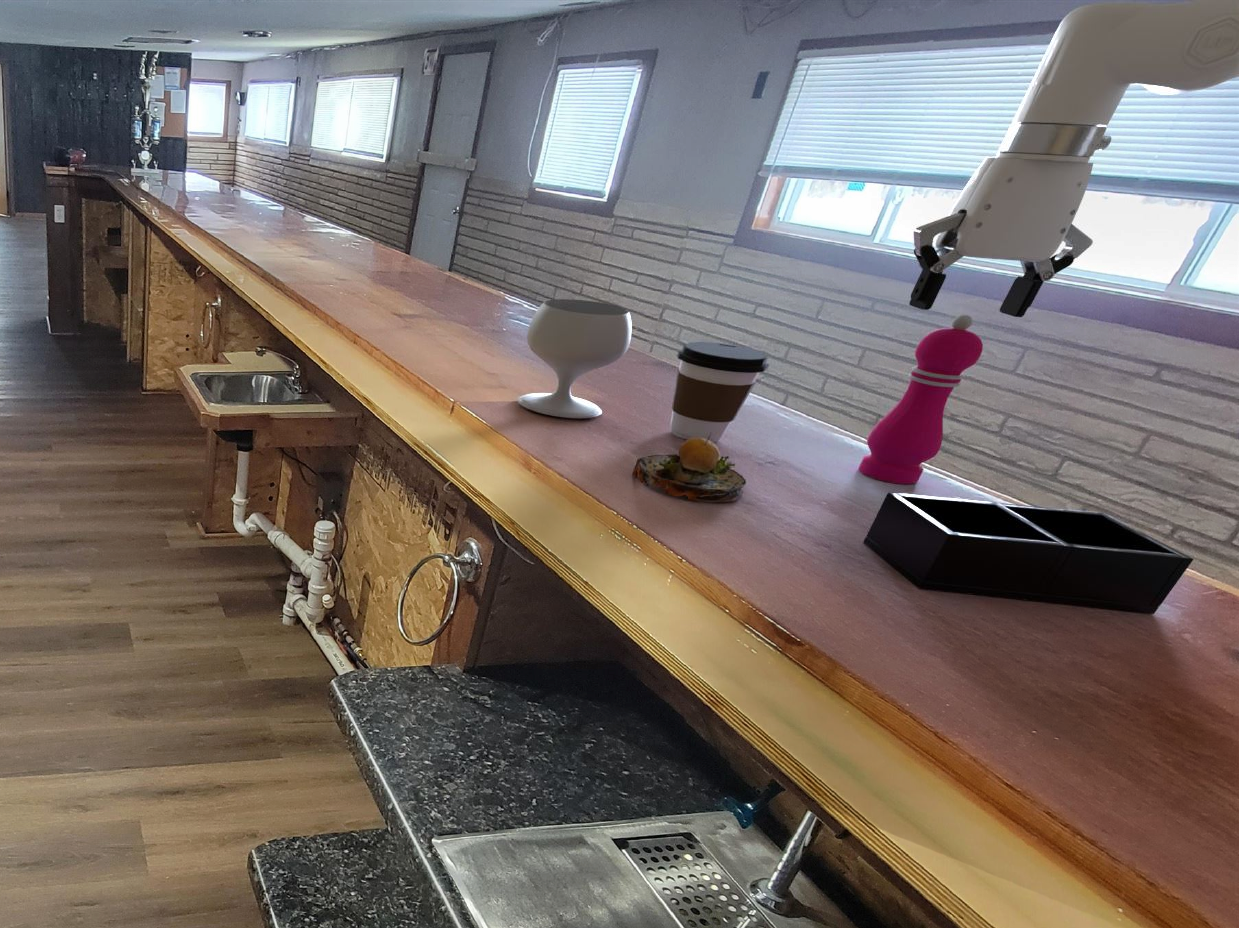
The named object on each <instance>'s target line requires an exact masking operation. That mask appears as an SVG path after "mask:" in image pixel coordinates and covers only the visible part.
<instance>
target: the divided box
mask: <svg viewBox="0 0 1239 928" xmlns="http://www.w3.org/2000/svg"><path fill="white" fill-rule="evenodd" d="M863 544H864V545H865V546H866V547H868V548H869V549H870V550H871V551H873V552H874V553H875V554H876V555H878V556H879V557H880V558H881V559H883V560H884V561H885V562H886V563H887V564H888V565H890V566H891V567H892V568H893V569H895V571H897V572H898V573H899V574H901V575H902V576H903V577H904V578H906V580H908V581H909V582H910V583H911V584H913V585H914V586H915V587H916V588H918V589H919V590H928V591H937V592H947V593H954V594H955V593H957V594H966V595H973V596H984V597H991V598H992V597H993V598H1002V599H1011V600H1019V601H1020V600H1021V601H1029V602H1040V603H1046V604H1047V603H1048V604H1056V605H1067V606H1075V607H1084V608H1093V609H1103V610H1111V611H1112V610H1113V611H1123V612H1130V613H1139V614H1140V613H1141V614H1149V615H1155V614H1156V612H1157V611H1158V609H1159V607H1161V605H1162V604H1163V602H1164V601H1165V600H1166V598H1167V597H1168V596H1169V594H1170V593H1171V592H1172V590H1173V588H1174V587H1175V586H1176V585H1177V583H1178V582H1179V580H1180V579H1181V577H1182V576H1183V575H1184V573H1185V572H1186V571H1187V570H1188V568H1189V566H1190V565H1191V564H1192V562H1194V558H1193V557H1191V556H1189V555H1187V554H1185V553H1183V552H1181V551H1179V550H1177V549H1175V548H1173V547H1172V546H1169V545H1168V544H1165V543H1163V542H1161V541H1160V540H1158V539H1156V538H1154V537H1152V536H1150V535H1148V534H1146V533H1144V532H1142V531H1140V530H1138V529H1136V528H1135V527H1133V526H1131V525H1129V524H1127V523H1125V522H1122V520H1119V519H1117V518H1115V517H1113V516H1111V515H1109V514H1107V513H1105V512H1099V511H1098V512H1097V511H1088V510H1077V509H1069V508H1067V509H1065V508H1058V507H1057V508H1056V507H1046V506H1045V507H1044V506H1036V505H1025V504H1013V503H1005V502H1004V503H1002V502H994V501H993V502H991V501H983V500H971V499H963V498H953V497H952V498H951V497H943V496H930V495H921V494H920V495H919V494H911V493H910V494H909V493H900V492H899V493H898V492H890V491H889V492H887V494H886V495H885V497H884V499H883V501H882V503H881V505H880V507H879V509H878V511H877V513H876V515H875V518H874V519H873V521H872V524H871V525H870V528H869V529H868V531H867V533H866V536H865V537H864V540H863Z"/></svg>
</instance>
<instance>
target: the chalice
mask: <svg viewBox="0 0 1239 928" xmlns="http://www.w3.org/2000/svg"><path fill="white" fill-rule="evenodd" d="M632 325H633V324H632V317H631V314H630V311H629V310H628V309H626V308H625V307H622V306H619V305H615V304H611V303H606V302H600V301H592V300H584V299H572V298H570V299H569V298H557V299H547V300H545V301H543V303H542V304H541V305H540V306H539V307H538V308H537V310H536V312H535V313H534V315H533V317H532V319H531V321H530V323H529V326H528V329H527V335H526V343H527V345H528V347H529V349H530V350H531V352H532V353H533V354H534V355H536V356H537V357H538V358H539V359H540V360H542V361H543V362H544V363H545V364H547V365H548V366H549V367H550V368H551V370H553V371H554V373H555V374H556V377H557V380H558V385H557V387H556V389H555V390H554V391H553V392H552V393H549V392H537V393H536V392H534V393H533V392H531V393H526V394H523V395H521V396H519V397H518V398H517V403H518V404H519V405H520V406H522V407H524V408H525V409H528V410H531V411H532V412H535V413H539V414H543V415H549V416H552V417H559V418H567V419H590V418H596V417H600V416H601V415H602V414H603V411H602V409H601V408H600V406H598V405H597V404H595V403H594V402H591V401H588V400H586V399H583V398H579V397H574V396H573V395H572V392H571V388H572V385H573V383H574V382H575V381H576V380H577V379H578V378H579V377H581V376H582V375H584V374H586V373H589V372H591V371H594V370H597V369H599V368H603V367H605V366H609V365H611V364H613V363H615V362H617V361H619V360H620V359H621V358H622V357H623V356H624V355H625V354H626V352H627V351H628V350H629V347H630V344H631V339H632V331H633V330H632V328H633V327H632Z"/></svg>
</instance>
